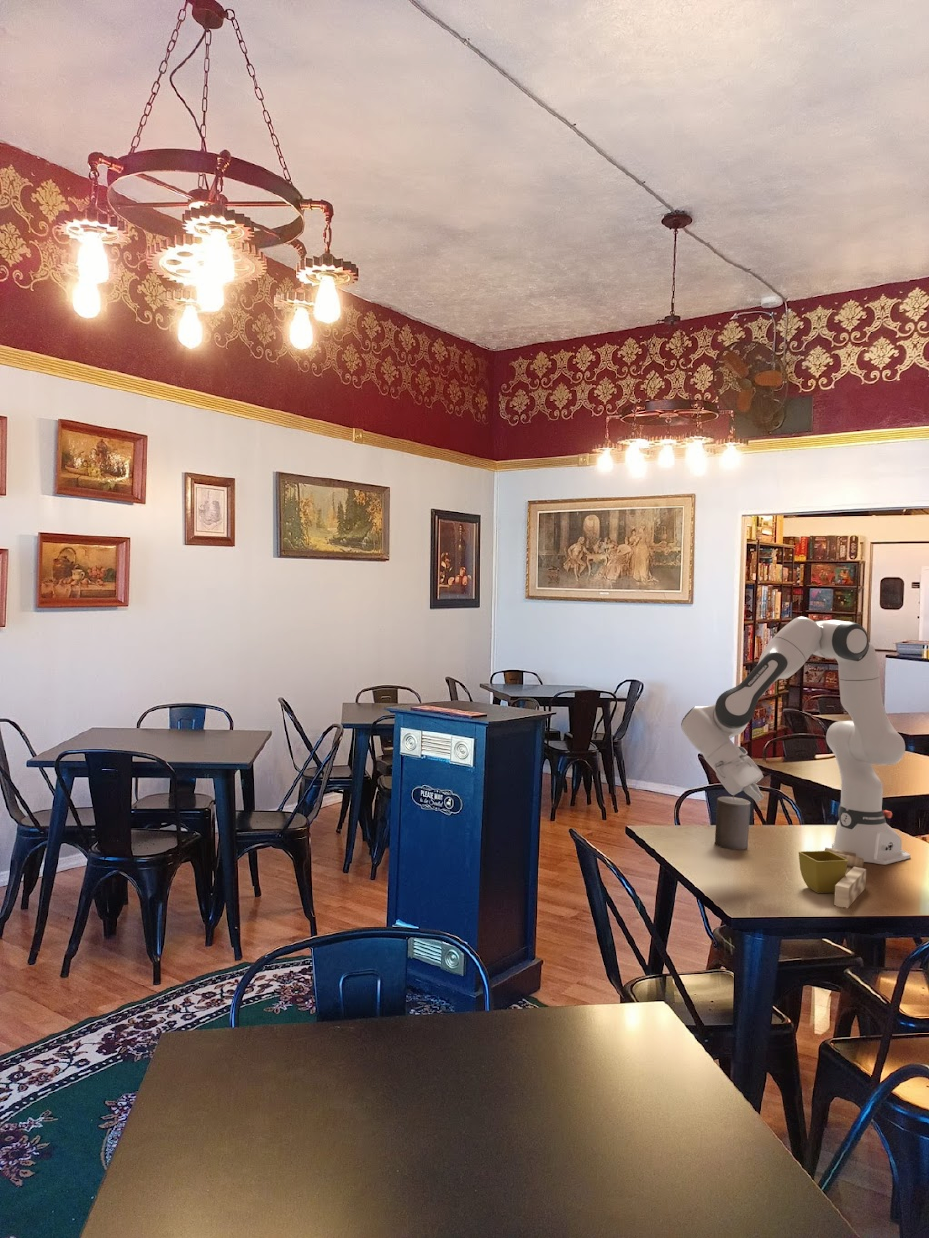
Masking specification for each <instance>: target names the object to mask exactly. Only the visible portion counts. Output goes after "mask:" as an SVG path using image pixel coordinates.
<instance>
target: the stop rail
mask: <svg viewBox="0 0 929 1238" xmlns="http://www.w3.org/2000/svg"><path fill="white" fill-rule="evenodd" d="M866 879H867V868H864V867H863V868H858V867H851V869H850V870H849V871H848V872H847V873H845V876H844V877H843V878H842V879H841V880H840V881H839V882H838V883H837V884H836V885H835V892H834V905H836V906H835V907H839V908H843V907H846V908H845V909H848V908H849V907H850V906H851V905H852V904H853V903H854V902H855V901H856V899H857V898H859V896H860V895H861V894H862V893H863V892H864V890H866V881H867V880H866Z"/></svg>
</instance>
